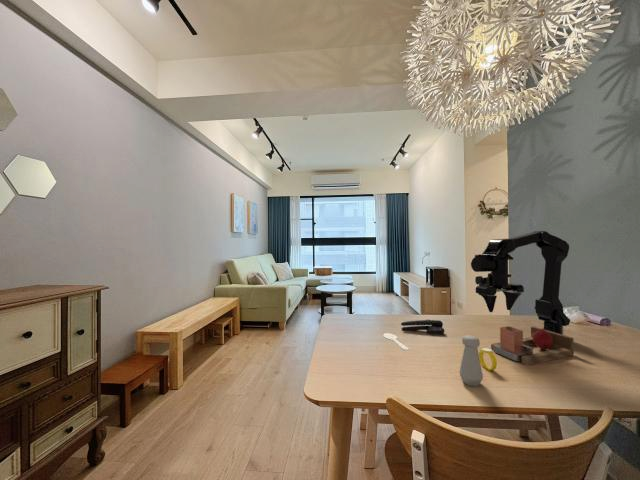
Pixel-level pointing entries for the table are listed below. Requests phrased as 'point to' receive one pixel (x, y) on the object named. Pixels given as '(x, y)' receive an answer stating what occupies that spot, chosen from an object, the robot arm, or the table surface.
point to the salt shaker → (471, 362)
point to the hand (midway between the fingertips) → (499, 311)
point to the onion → (542, 339)
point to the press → (512, 344)
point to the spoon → (394, 337)
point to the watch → (494, 362)
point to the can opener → (433, 329)
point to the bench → (559, 348)
